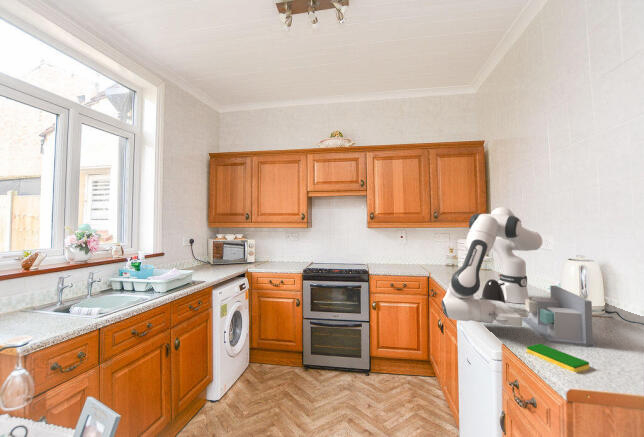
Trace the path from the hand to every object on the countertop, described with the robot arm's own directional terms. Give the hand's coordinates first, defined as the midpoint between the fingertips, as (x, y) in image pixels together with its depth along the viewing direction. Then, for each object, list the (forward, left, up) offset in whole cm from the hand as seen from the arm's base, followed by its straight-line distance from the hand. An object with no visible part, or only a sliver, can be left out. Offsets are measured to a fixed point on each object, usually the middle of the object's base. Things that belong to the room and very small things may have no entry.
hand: (526, 314), depth 106 cm
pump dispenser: (-29, +14, -9) cm, 34 cm away
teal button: (+4, +9, -3) cm, 10 cm away
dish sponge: (+17, -8, -9) cm, 21 cm away
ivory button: (-8, +16, -3) cm, 18 cm away
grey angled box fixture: (0, +14, -8) cm, 17 cm away
